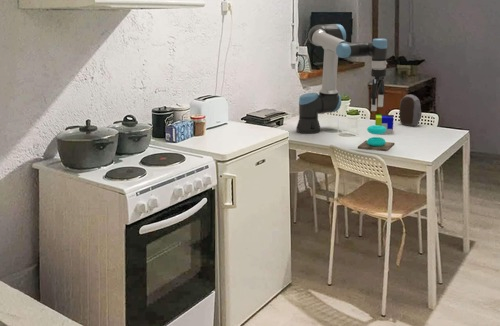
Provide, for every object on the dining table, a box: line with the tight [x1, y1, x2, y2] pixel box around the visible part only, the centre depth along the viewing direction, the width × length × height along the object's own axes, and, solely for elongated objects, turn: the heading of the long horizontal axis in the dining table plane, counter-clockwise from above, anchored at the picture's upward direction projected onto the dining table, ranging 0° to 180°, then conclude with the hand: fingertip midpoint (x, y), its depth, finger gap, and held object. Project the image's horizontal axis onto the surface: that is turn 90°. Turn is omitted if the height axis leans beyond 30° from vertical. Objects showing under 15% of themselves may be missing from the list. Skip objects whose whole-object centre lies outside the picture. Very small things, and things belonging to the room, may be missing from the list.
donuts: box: [366, 124, 387, 146], centre depth 286 cm, size 10×10×10 cm
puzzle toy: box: [374, 114, 394, 135], centre depth 320 cm, size 10×10×10 cm
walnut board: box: [357, 139, 395, 152], centre depth 288 cm, size 16×16×1 cm
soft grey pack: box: [398, 94, 423, 126], centre depth 338 cm, size 15×8×20 cm, turn 36°
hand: (377, 108), depth 283 cm, fingers open, 13 cm apart
